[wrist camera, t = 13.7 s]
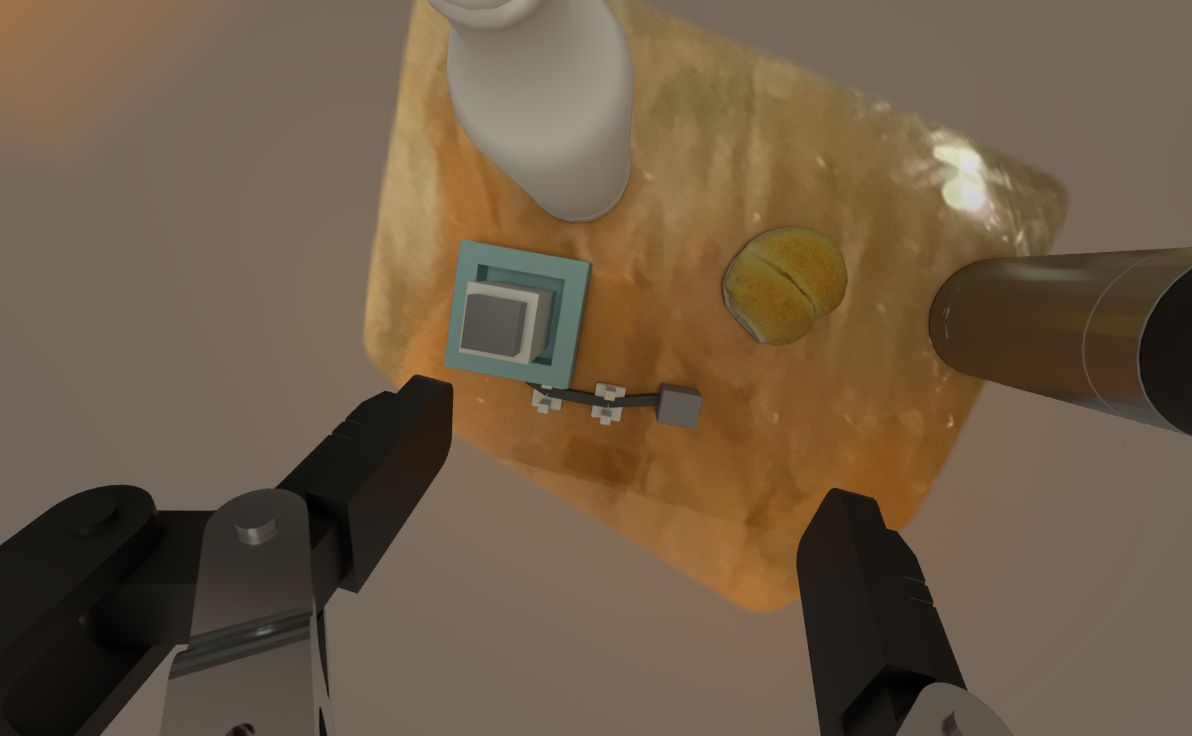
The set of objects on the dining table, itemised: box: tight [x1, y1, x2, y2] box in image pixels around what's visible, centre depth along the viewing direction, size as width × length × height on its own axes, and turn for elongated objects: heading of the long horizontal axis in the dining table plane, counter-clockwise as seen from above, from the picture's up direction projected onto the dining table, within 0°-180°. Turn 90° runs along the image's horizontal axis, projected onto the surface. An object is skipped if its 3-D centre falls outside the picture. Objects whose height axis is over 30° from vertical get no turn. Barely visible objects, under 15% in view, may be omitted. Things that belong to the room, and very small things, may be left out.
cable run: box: [525, 382, 702, 429], centre depth 43 cm, size 14×4×3 cm, turn 80°
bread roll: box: [722, 227, 848, 345], centre depth 40 cm, size 8×9×4 cm
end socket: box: [444, 240, 592, 389], centre depth 41 cm, size 10×10×4 cm
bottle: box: [427, 0, 634, 223], centre depth 26 cm, size 8×8×30 cm
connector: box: [459, 281, 557, 364], centre depth 37 cm, size 4×4×11 cm
